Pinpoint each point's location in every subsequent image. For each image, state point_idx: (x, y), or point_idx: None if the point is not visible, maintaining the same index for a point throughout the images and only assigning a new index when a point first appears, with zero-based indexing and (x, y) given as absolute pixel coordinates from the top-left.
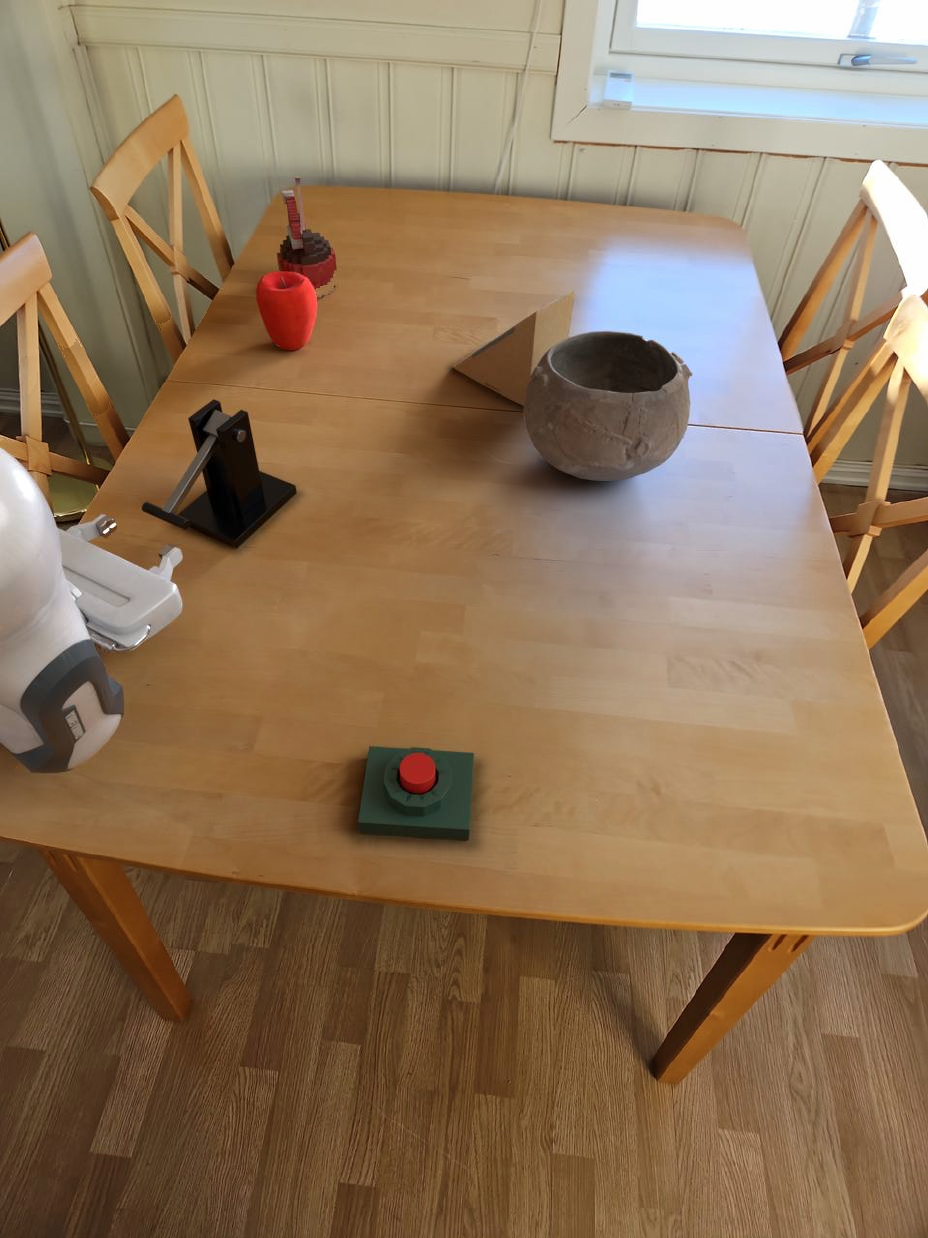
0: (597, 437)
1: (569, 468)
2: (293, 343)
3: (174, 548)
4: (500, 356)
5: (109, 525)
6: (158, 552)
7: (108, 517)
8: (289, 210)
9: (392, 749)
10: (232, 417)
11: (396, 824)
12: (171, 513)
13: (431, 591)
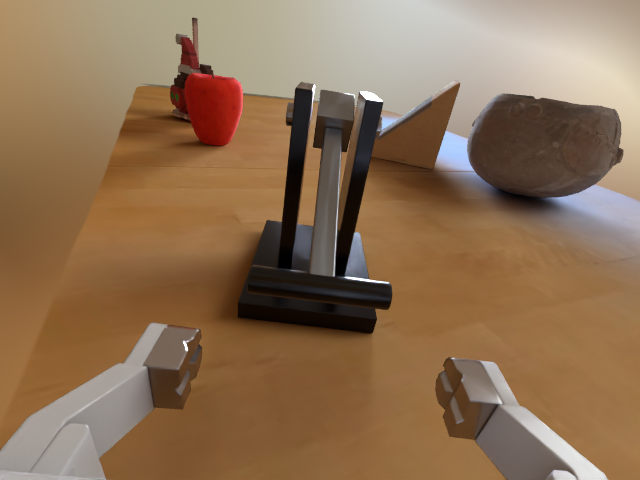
0: (601, 146)
1: (564, 183)
2: (224, 136)
3: (488, 365)
4: (411, 131)
5: (190, 356)
6: (471, 399)
7: (183, 328)
8: (187, 46)
9: None
10: (364, 94)
11: None
12: (341, 276)
13: (632, 316)
